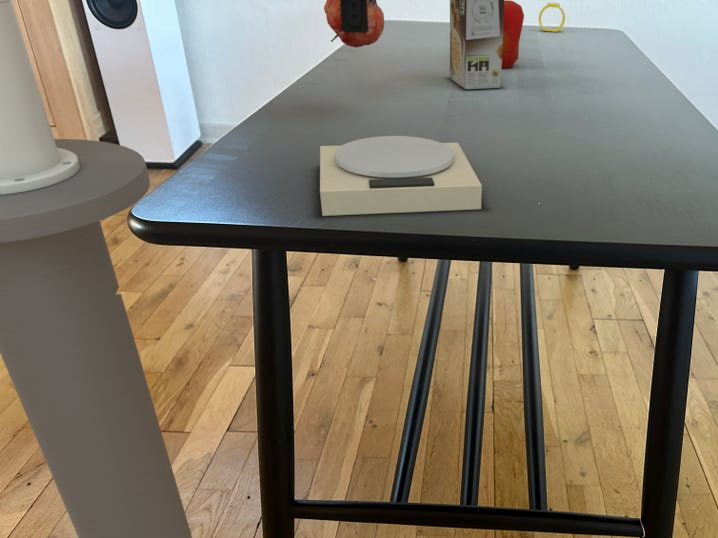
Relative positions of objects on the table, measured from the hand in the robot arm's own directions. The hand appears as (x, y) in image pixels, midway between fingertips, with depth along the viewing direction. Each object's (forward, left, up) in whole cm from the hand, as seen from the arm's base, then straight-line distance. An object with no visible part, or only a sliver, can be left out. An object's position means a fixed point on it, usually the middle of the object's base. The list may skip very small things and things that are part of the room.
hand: (353, 26), depth 89 cm
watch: (+48, +73, -11) cm, 88 cm away
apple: (+26, +32, -11) cm, 43 cm away
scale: (+2, -30, -11) cm, 32 cm away
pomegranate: (0, 0, -3) cm, 3 cm away
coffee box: (+19, +18, -11) cm, 29 cm away
